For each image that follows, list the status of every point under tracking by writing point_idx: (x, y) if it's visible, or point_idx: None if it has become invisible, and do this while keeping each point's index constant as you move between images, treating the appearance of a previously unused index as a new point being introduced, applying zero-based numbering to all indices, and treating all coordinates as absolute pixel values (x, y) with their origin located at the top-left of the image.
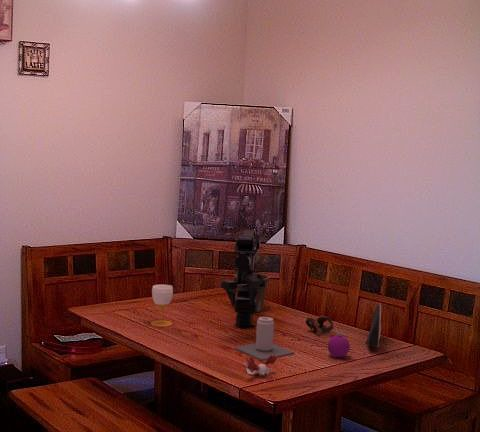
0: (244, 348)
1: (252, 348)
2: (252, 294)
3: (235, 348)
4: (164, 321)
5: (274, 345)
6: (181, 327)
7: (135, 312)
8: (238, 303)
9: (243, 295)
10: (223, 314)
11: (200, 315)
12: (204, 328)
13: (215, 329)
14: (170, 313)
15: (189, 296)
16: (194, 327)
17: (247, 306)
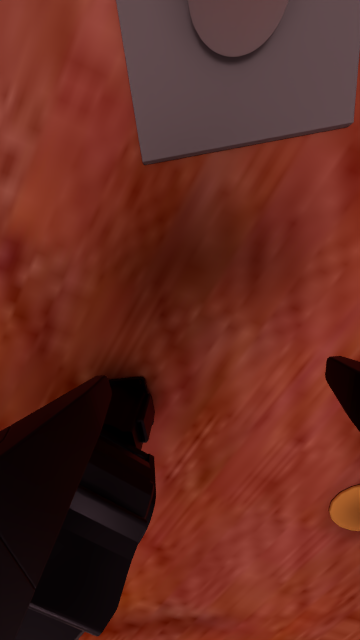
0: (321, 77)
1: (281, 59)
2: (35, 470)
3: (351, 114)
4: (344, 518)
5: (141, 65)
6: (333, 460)
7: (350, 595)
8: (143, 486)
9: (86, 551)
10: None
11: (200, 528)
12: (270, 427)
13: (242, 405)
14: (270, 564)
15: (139, 637)
16: (294, 446)
17: (98, 444)
